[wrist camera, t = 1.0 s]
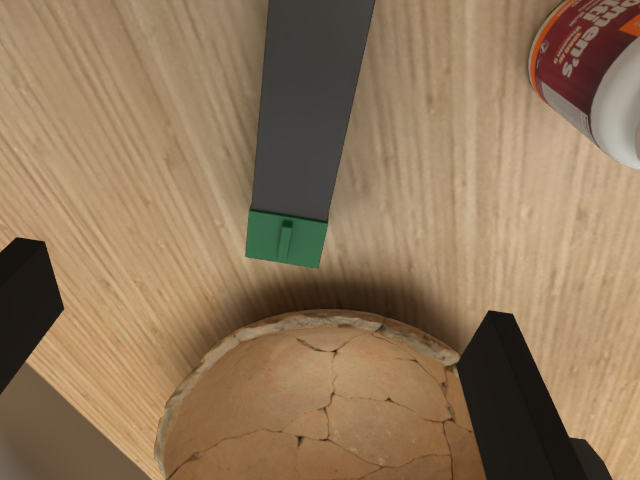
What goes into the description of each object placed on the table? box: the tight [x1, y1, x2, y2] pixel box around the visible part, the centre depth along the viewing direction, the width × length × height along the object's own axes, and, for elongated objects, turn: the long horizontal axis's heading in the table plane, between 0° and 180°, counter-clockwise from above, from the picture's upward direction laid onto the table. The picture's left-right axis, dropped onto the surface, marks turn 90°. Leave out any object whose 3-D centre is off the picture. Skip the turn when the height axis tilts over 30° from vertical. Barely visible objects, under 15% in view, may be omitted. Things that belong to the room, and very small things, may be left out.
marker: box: [245, 0, 375, 268], centre depth 23 cm, size 15×5×5 cm, turn 170°
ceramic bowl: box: [154, 309, 486, 480], centre depth 36 cm, size 30×27×15 cm
